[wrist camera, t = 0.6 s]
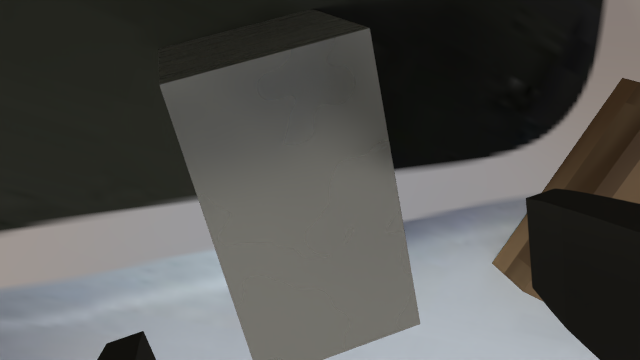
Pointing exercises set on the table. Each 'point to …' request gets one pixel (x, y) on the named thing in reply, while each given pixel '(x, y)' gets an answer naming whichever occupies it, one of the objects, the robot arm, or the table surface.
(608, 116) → the shallow wooden tray
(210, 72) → the grey speckled stone block
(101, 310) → the table surface
